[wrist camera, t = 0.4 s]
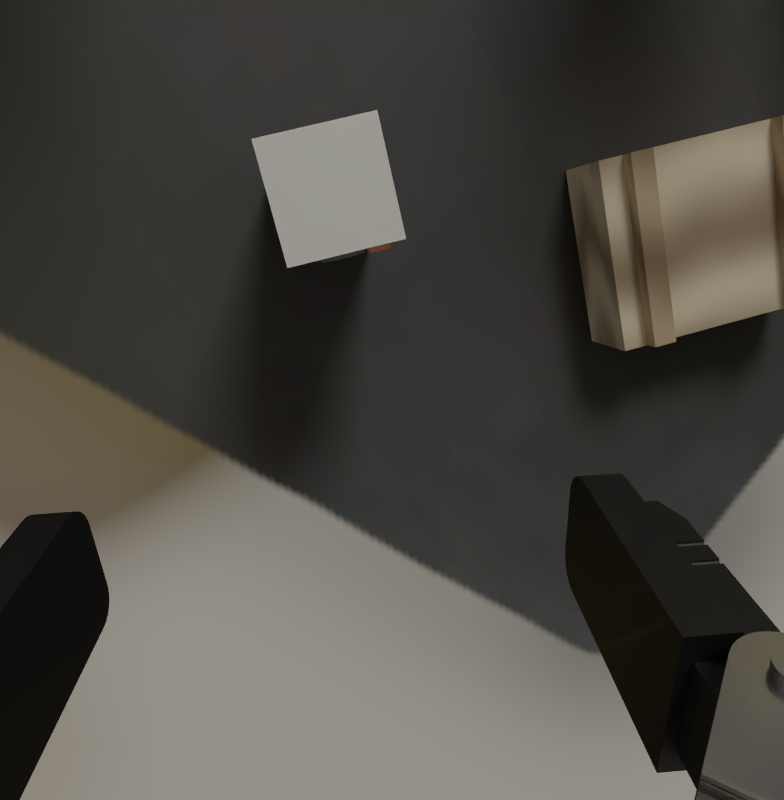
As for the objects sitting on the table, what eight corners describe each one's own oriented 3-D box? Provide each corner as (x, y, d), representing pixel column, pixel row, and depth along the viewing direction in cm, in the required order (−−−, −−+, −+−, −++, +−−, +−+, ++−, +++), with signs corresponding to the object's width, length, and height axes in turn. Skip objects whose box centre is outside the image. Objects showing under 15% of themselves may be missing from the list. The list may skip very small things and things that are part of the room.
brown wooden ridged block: (565, 170, 35) (605, 158, 31) (759, 123, 36) (827, 104, 32) (592, 340, 38) (632, 353, 33) (772, 292, 39) (836, 298, 34)
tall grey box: (267, 177, 33) (251, 138, 22) (350, 158, 33) (377, 110, 22) (292, 266, 34) (288, 273, 23) (370, 246, 35) (407, 244, 23)
